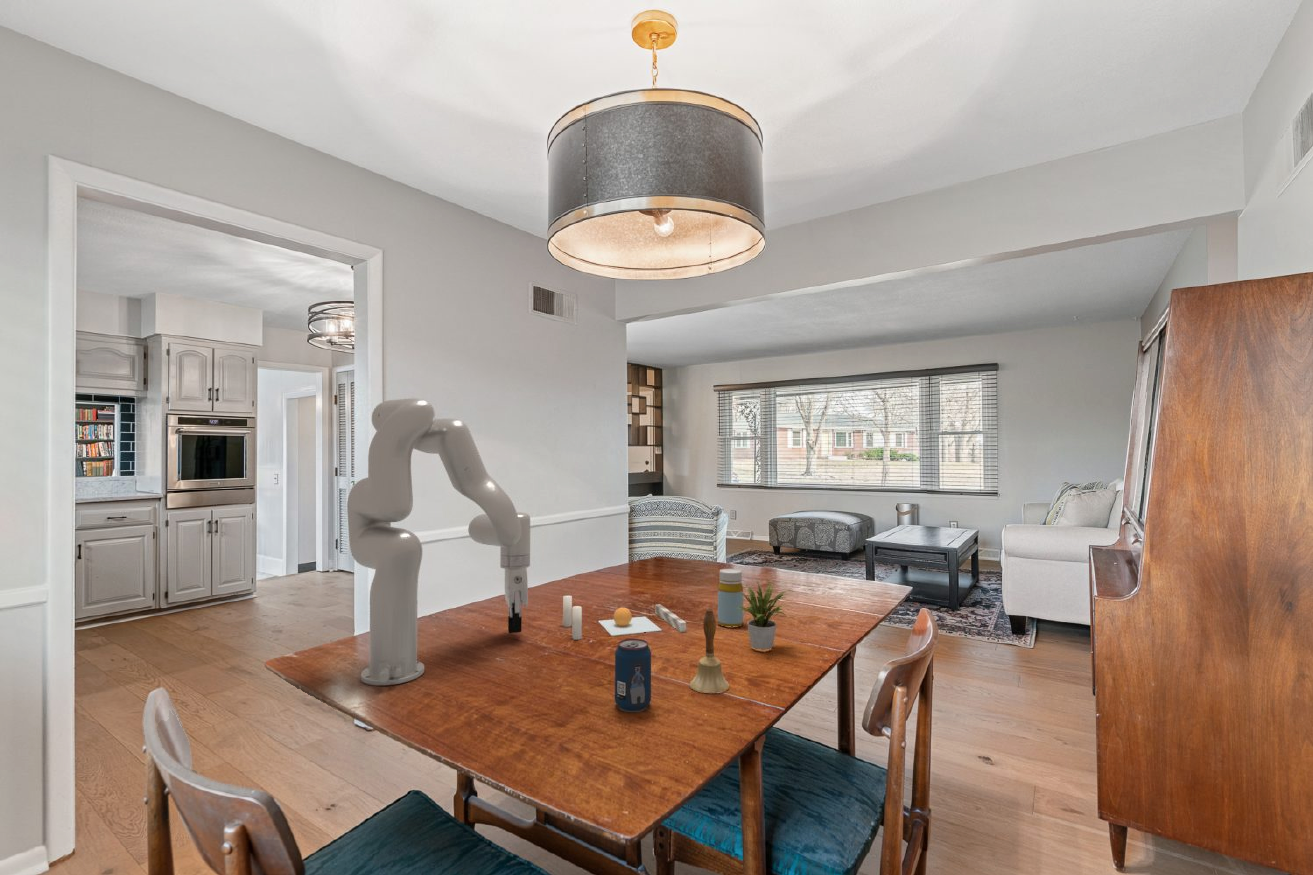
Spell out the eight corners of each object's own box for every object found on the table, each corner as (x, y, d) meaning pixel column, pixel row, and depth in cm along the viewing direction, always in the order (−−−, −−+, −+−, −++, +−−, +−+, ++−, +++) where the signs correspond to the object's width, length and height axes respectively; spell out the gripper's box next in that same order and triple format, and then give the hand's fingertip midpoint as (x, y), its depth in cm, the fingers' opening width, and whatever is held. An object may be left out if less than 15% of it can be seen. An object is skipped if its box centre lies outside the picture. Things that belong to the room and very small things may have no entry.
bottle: (742, 621, 176) (742, 568, 176) (743, 629, 169) (743, 573, 169) (717, 620, 176) (718, 568, 176) (717, 628, 169) (718, 573, 169)
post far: (572, 626, 170) (572, 597, 170) (563, 627, 169) (564, 597, 169) (570, 623, 172) (570, 595, 172) (562, 624, 172) (562, 595, 172)
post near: (582, 639, 159) (582, 607, 159) (573, 640, 158) (573, 608, 158) (580, 636, 161) (580, 605, 161) (571, 637, 160) (571, 606, 160)
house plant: (793, 662, 143) (793, 591, 143) (733, 658, 145) (733, 588, 146) (792, 643, 157) (792, 578, 157) (737, 639, 159) (737, 575, 160)
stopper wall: (686, 631, 166) (686, 622, 166) (680, 632, 165) (680, 623, 165) (660, 612, 185) (660, 604, 185) (655, 613, 184) (655, 604, 184)
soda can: (631, 695, 124) (631, 635, 124) (658, 705, 119) (658, 642, 119) (607, 706, 118) (607, 643, 118) (634, 717, 114) (634, 651, 114)
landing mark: (661, 630, 167) (661, 630, 167) (611, 636, 162) (611, 635, 162) (644, 617, 180) (644, 616, 180) (598, 621, 175) (598, 620, 175)
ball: (633, 628, 169) (634, 609, 169) (615, 628, 168) (617, 610, 168) (627, 623, 174) (629, 605, 174) (610, 623, 172) (612, 605, 172)
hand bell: (731, 694, 124) (731, 615, 124) (690, 694, 124) (690, 614, 125) (727, 679, 133) (728, 604, 133) (688, 678, 133) (689, 603, 133)
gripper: (534, 565, 155) (533, 638, 154) (525, 554, 169) (525, 622, 168) (503, 567, 152) (503, 642, 152) (497, 556, 166) (496, 625, 166)
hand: (514, 631), depth 160 cm, fingers closed
